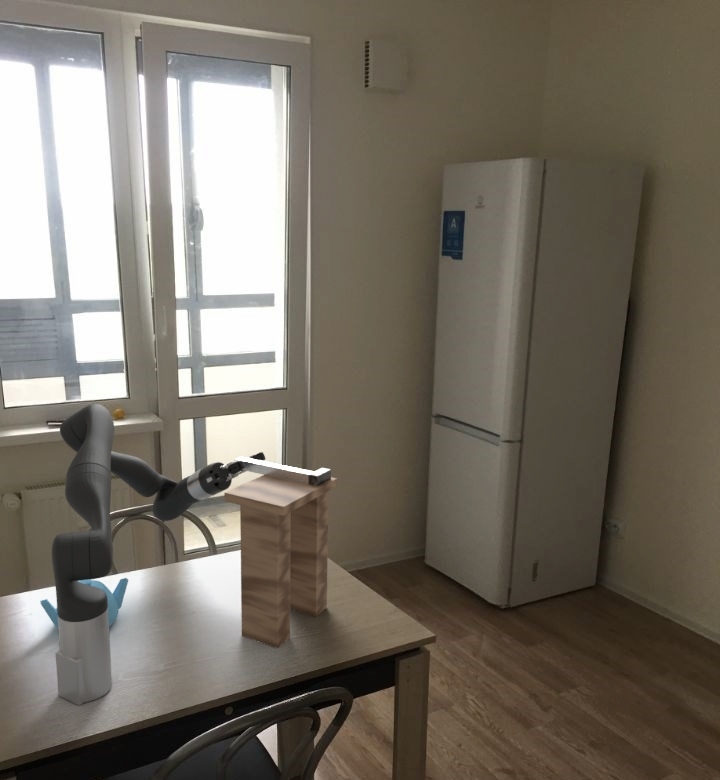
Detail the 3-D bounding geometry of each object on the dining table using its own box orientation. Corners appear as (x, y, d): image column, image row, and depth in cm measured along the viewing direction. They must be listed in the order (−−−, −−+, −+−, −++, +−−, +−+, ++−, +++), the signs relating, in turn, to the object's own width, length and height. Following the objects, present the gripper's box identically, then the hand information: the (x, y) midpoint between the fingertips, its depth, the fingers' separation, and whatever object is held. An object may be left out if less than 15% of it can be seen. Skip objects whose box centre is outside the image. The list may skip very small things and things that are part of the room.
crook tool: (317, 486, 162) (317, 476, 162) (234, 468, 174) (234, 459, 173) (330, 479, 168) (330, 469, 167) (249, 462, 179) (249, 453, 178)
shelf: (283, 651, 156) (283, 506, 149) (226, 631, 164) (224, 492, 157) (334, 609, 175) (337, 478, 168) (281, 592, 183) (281, 466, 176)
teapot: (133, 610, 172) (132, 569, 170) (103, 643, 158) (101, 599, 156) (75, 604, 174) (72, 564, 172) (40, 637, 160) (36, 593, 158)
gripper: (183, 475, 174) (227, 452, 166) (221, 460, 187) (264, 439, 178) (195, 503, 174) (240, 482, 166) (232, 486, 186) (276, 466, 178)
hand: (252, 459), depth 172 cm, fingers open, 8 cm apart
